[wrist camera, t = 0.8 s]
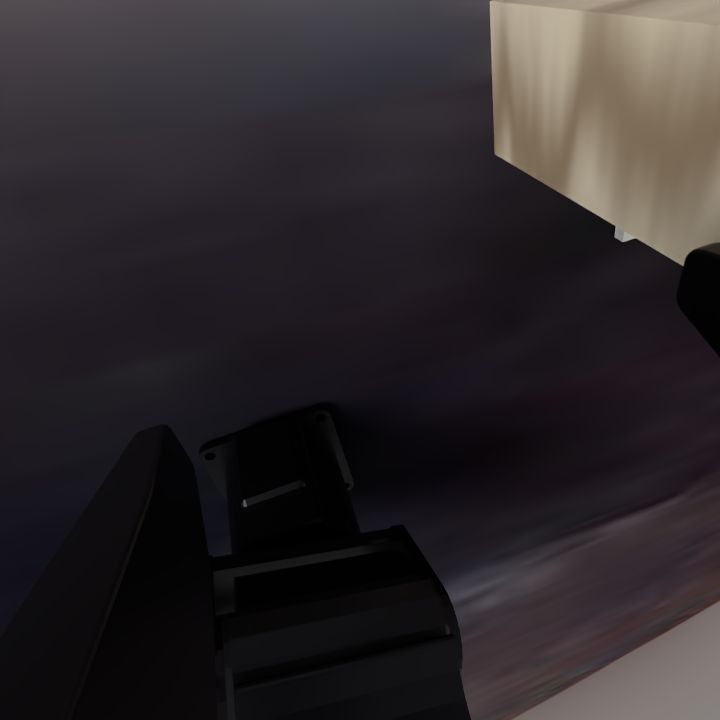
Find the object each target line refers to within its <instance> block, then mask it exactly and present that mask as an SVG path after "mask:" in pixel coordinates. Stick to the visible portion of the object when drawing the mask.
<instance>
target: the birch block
mask: <svg viewBox="0 0 720 720" xmlns="http://www.w3.org/2000/svg"><path fill="white" fill-rule="evenodd" d="M490 24H491V54H492V85H493V116H494V146H495V155H497V156H499V157H500V158H502V159H504V160H506V161H507V162H509V163H511V164H512V165H514V166H516V167H517V168H519V169H521V170H522V171H524V172H526V173H527V174H529V175H531V176H532V177H534V178H536V179H537V180H539V181H541V182H542V183H544V184H546V185H548V186H549V187H551V188H553V189H554V190H556V191H558V192H559V193H561V194H563V195H564V196H566V197H568V198H569V199H571V200H573V201H574V202H576V203H578V204H579V205H581V206H583V207H584V208H586V209H588V210H590V211H591V212H593V213H595V214H596V215H598V216H600V217H601V218H603V219H605V220H606V221H608V222H610V223H611V224H613V225H615V226H616V227H618V228H620V229H621V230H623V231H625V232H626V233H628V234H630V235H632V236H633V237H635V238H637V239H638V240H640V241H642V242H643V243H645V244H647V245H648V246H650V247H652V248H653V249H655V250H657V251H658V252H660V253H662V254H663V255H665V256H667V257H669V258H670V259H672V260H674V261H675V262H677V263H679V264H680V265H682V266H683V265H684V261H685V258H686V256H687V255H688V254H689V252H690V251H692V250H694V249H696V248H699V247H702V246H705V245H708V244H711V243H717V242H720V0H491V1H490Z"/></svg>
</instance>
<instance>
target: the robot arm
mask: <svg viewBox="0 0 720 720" xmlns="http://www.w3.org/2000/svg"><path fill="white" fill-rule="evenodd" d="M676 296H677V303H678V306H679V308H680V309H681V311H682V312H683V313H684V314H685V316H686V317H687V318H688V319H689V321H690V322H691V323H692V324H693V325H694V327H695V328H696V329H697V330H698V331H699V333H700V334H701V335H702V336H703V338H704V339H705V340H706V341H707V342H708V344H709V345H710V346H711V347H712V348H713V350H714V351H715V352H716V353H717V355H718V356H719V357H720V242H717V243H711V244H708V245H705V246H702V247H699V248H696V249H694V250H692V251H690V252H689V254H688V255H687V256H686V258H685V261H684V265H683V270H682V274H681V278H680V282H679V286H678V290H677V295H676ZM320 414H323V415H322V416H319V417H317V416H318V415H320ZM207 453H213V454H207ZM199 458H200V461H201V462H202V464H203V466H204V467H205V469H206V470H207V472H208V474H209V475H210V477H211V478H212V480H213V482H214V483H215V485H216V486H217V488H218V490H219V491H220V493H221V494H222V496H223V497H224V499H225V501H226V502H227V504H228V515H229V526H230V538H231V549H232V554H231V555H225V556H219V557H212V555H211V556H209V553H208V547H207V541H206V535H205V529H204V523H203V517H202V511H201V504H200V498H199V492H198V486H197V480H196V474H195V470H194V467H193V464H192V462H191V460H190V458H189V456H188V455H187V453H186V452H185V450H184V448H183V447H182V445H181V444H180V442H179V440H178V439H177V437H176V436H175V434H174V433H173V431H172V430H171V428H170V427H168V426H167V425H164V424H161V425H158V426H155V427H152V428H149V429H145V430H142V431H140V432H138V433H137V434H136V435H135V436H134V437H133V438H132V440H131V441H130V443H129V444H128V446H127V447H126V449H125V450H124V452H123V453H122V455H121V456H120V458H119V459H118V461H117V462H116V464H115V466H114V467H113V469H112V470H111V472H110V473H109V475H108V476H107V478H106V479H105V481H104V482H103V484H102V485H101V487H100V488H99V490H98V491H97V493H96V494H95V496H94V497H93V499H92V500H91V502H90V503H89V505H88V506H87V508H86V509H85V511H84V512H83V514H82V515H81V517H80V518H79V520H78V521H77V523H76V524H75V526H74V527H73V529H72V530H71V532H70V533H69V535H68V536H67V538H66V539H65V541H64V542H63V544H62V545H61V547H60V548H59V550H58V551H57V553H56V554H55V556H54V557H53V559H52V560H51V562H50V563H49V565H48V566H47V568H46V569H45V571H44V572H43V574H42V575H41V577H40V578H39V580H38V581H37V583H36V584H35V586H34V587H33V589H32V590H31V592H30V593H29V595H28V596H27V598H26V599H25V601H24V602H23V604H22V605H21V607H20V608H19V610H18V611H17V613H16V614H15V616H14V617H13V619H12V621H11V622H10V624H9V625H8V627H7V628H6V630H5V631H4V633H3V634H2V636H1V637H0V720H471V718H470V714H469V710H468V707H467V703H466V699H465V695H464V690H463V685H462V680H461V675H460V672H461V669H462V659H463V658H462V643H461V636H460V630H459V626H458V622H457V618H456V615H455V611H454V608H453V605H452V603H451V601H450V598H449V596H448V594H447V592H446V590H445V588H444V586H443V585H442V583H441V582H440V580H439V579H438V577H437V576H436V574H435V572H434V571H433V569H432V568H431V566H430V565H429V563H428V562H427V560H426V559H425V557H424V556H423V554H422V553H421V551H420V550H419V548H418V547H417V545H416V544H415V542H414V541H413V539H412V538H411V536H410V534H409V533H408V531H407V530H406V528H405V527H404V525H403V524H401V525H395V526H390V529H384V530H378V531H371V532H365V533H361V531H360V528H359V525H358V522H357V519H356V516H355V512H354V509H353V506H352V503H351V500H350V497H349V494H348V491H349V490H351V489H352V488H353V486H354V481H353V478H352V476H351V473H350V470H349V467H348V464H347V461H346V458H345V455H344V452H343V449H342V446H341V443H340V440H339V438H338V435H337V432H336V429H335V426H334V423H333V420H332V417H331V414H330V411H329V409H328V407H326V406H325V405H317V406H314V407H311V408H308V409H305V410H302V411H299V412H297V413H294V414H291V415H288V416H285V417H282V418H279V419H276V420H273V421H270V422H268V423H265V424H262V425H259V426H256V427H253V428H250V429H247V430H244V431H241V432H238V433H236V434H233V435H230V436H227V437H224V438H221V439H218V440H215V441H212V442H209V443H207V444H204V445H202V446H201V448H200V449H199Z"/></svg>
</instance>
